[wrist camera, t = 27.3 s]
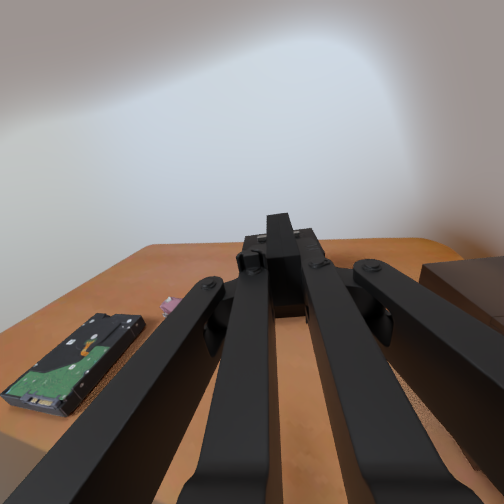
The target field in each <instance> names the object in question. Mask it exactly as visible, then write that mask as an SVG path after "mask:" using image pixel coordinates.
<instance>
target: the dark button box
mask: <svg viewBox="0 0 504 504" xmlns="http://www.w3.org/2000/svg"><path fill="white" fill-rule="evenodd" d="M293 232H294V235H295V238H296V239H303V238H312V239H314V240H316V241H317V243H318V245H319V247H320V249H321V251H322V253H323V255H324V257H325V252H324V250H323V249H322V247H321V245H320V243H319V241H318V239H317V237H316V236H315V234H314V232H313V230H312V228H307V229H299V230H293ZM266 236H267V234H259V235H251V236H245V240H244V244H243V248H242V251H245V250H248V249H249V248H250V247H251V246H252V245H259V244H266ZM273 307H274V314H275V318H285V317H299V316H306V315H305V302H304V304H297V305H285V306H273Z"/></svg>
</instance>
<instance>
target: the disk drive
mask: <svg viewBox="0 0 504 504" xmlns="http://www.w3.org/2000/svg"><path fill="white" fill-rule="evenodd" d="M145 325H146V324H145V322H144V320H143V318H142V316H141V315H124V314H115V315H113V316H109V315H106V314H103V313H96V314H95V315H94V316H93V317H91V318H90V319H89V320H88V321H86V322H85V323H84V324H83V325H82V326H81V327H79V328H78V329H77V330H76V331H75V332H73V333H72V334H71V335H70V336H69V337H67V338H66V339H65V340H64V341H63V342H61V343H60V344H59V345H58V346H57V347H56V348H54V349H53V350H52V351H51V352H50V353H48V354H47V355H46V356H45V357H43V358H42V359H41V360H40V361H38V362H37V364H36V365H34V366H33V367H31V368H30V369H29V370H28V371H27V372H25V373H24V374H23V375H21V376H20V377H19V378H18V379H17V380H16V381H15V382H14V383H13V384H11V385H10V386H9V387H7V388H6V389H5V390H4V391H3V392H2V393H1V394H0V396H1V397H2V398H3V399H4V400H5V401H7V402H8V403H9V404H10V405H12V406H17V407H20V408H24V409H29V410H34V411H39V412H43V413H48V414H53V415H57V416H62V417H67V416H68V415H69V414H70V413H71V412H72V411H73V410H74V409H75V408H76V407H77V406H78V405H79V404H80V403H81V401H82V400H83V399H84V398H85V397H86V395H87V394H88V393H89V392H90V391H91V390H92V388H93V387H94V386H95V385H96V384H97V383H98V381H99V380H100V379H101V378H102V377H103V376H104V374H105V373H106V372H107V371H108V370H109V368H110V367H111V366H112V365H113V364H114V362H115V361H116V360H117V359H118V358H119V357H120V355H122V353H123V352H124V351H125V350H126V349H127V347H128V346H129V345H130V344H131V343H132V341H133V340H134V339H135V338H136V337H137V336H138V334H139V333H140V332H141V331H142V329H143V328H144V326H145Z"/></svg>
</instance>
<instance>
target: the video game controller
mask: <svg viewBox="0 0 504 504" xmlns="http://www.w3.org/2000/svg"><path fill="white" fill-rule="evenodd" d="M181 300H182V299H179V298H175V297H168V299H167V300H165V301H164V302H163V303H162V304H161V306H160V308H161V309H162V310H163V311H164V314H165V315H164V314H163V316H164V317H167V316H168V315H169V314H170V313H171V312H172V311H173V309H174V308H175V307H176V306H177V305H178V304H179V303H180V301H181Z"/></svg>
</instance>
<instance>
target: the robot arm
mask: <svg viewBox="0 0 504 504" xmlns="http://www.w3.org/2000/svg"><path fill="white" fill-rule="evenodd" d="M236 260H237V264H238V269H239V277H238V278H236V279H234V280H232V281H229V282H225V283H223V279H222V278H220V277H216V276H213V277H206V278H204V279H202V280H200V281H199V282H198V283H196V284H195V286H194V287H193V288H192V289H191V290H190V291H189V292H188V293H187V295H186V296H185V297H184V298H183V299H182V300H181V301H180V303H179V304H178V305H177V306H176V307H175V308H174V309H173V311H172V312H171V313H170V314H169V315H168V316H167V317H166V318H165V320H164V321H163V322H162V323H161V324H160V325H159V326H158V328H157V329H156V330H155V331H154V332H153V333H152V334H151V336H150V337H149V338H148V339H147V340H146V341H145V342H144V344H143V345H142V346H141V347H140V348H139V349H138V350H137V351H136V353H135V354H134V355H133V356H132V357H131V358H130V359H129V361H128V362H127V363H126V364H125V365H124V366H123V367H122V369H121V370H120V371H119V372H118V373H117V374H116V375H115V376H114V378H113V379H112V380H111V381H110V382H109V383H108V384H107V386H106V387H105V388H104V389H103V390H102V391H101V392H100V394H99V395H98V396H97V397H96V398H95V399H94V400H93V402H92V403H91V404H90V405H89V406H88V407H87V408H86V409H85V411H84V412H83V413H82V414H81V415H80V416H79V417H78V419H77V420H76V421H75V422H74V423H73V424H72V425H71V427H70V428H69V429H68V430H67V431H66V432H65V433H64V434H63V436H62V437H61V438H60V439H59V440H58V441H57V442H56V444H55V445H54V446H53V447H52V448H51V449H50V450H49V452H48V453H47V454H46V455H45V456H44V457H43V458H42V460H41V461H40V462H39V463H38V464H37V465H36V466H35V467H34V469H33V470H32V471H31V472H30V473H29V474H28V475H27V477H26V478H25V479H24V480H23V481H22V482H21V483H20V485H19V486H18V487H17V488H16V489H15V490H14V491H13V493H12V494H11V495H10V496H9V497H8V499H6V500H5V502H4V503H3V504H152V502H153V500H154V497H155V495H156V493H157V491H158V489H159V487H160V485H161V483H162V481H163V478H164V476H165V474H166V472H167V470H168V468H169V466H170V464H171V462H172V460H173V457H174V455H175V453H176V451H177V449H178V447H179V445H180V443H181V441H182V439H183V436H184V434H185V432H186V430H187V428H188V426H189V424H190V422H191V420H192V418H193V415H194V413H195V411H196V409H197V407H198V405H199V403H200V401H201V399H202V396H203V394H204V392H205V390H206V388H207V386H208V384H209V382H210V380H211V378H212V375H213V373H214V371H215V369H216V367H217V365H218V363H219V361H220V365H219V369H218V374H217V378H216V383H215V388H214V392H213V397H212V402H211V406H210V411H209V415H208V420H207V425H206V429H205V434H204V439H203V443H202V448H201V452H200V457H199V461H198V465H197V468H196V470H195V473H194V475H193V476H192V477H191V478H190V479H189V480H188V481H187V482H186V483H185V484H184V486H183V488H182V490H181V492H180V495H179V497H178V500H177V503H176V504H283V486H282V465H281V443H280V422H279V400H278V378H277V357H276V335H275V314H274V307H273V306H285V305H297V304H304V302H305V315H306V323H308V326H309V330H310V335H311V339H312V344H313V348H314V352H315V357H316V361H317V366H318V370H319V375H320V379H321V384H322V388H323V393H324V397H325V402H326V406H327V410H328V415H329V419H330V424H331V428H332V433H333V437H334V442H335V446H336V451H337V455H338V459H339V464H340V468H341V473H342V477H343V482H344V486H345V491H346V495H347V500H348V504H484V503H483V502H482V500H481V499H480V498H479V497H478V496H477V495H476V494H475V493H474V491H473V490H471V489H470V488H468V487H467V486H465V485H464V484H462V483H461V482H459V481H458V480H456V479H455V478H454V477H453V475H452V474H451V473H450V472H449V471H448V469H447V467H446V466H445V464H444V463H443V461H442V459H441V457H440V456H439V454H438V452H437V450H436V448H435V447H434V445H433V443H432V441H431V439H430V438H429V436H428V434H427V432H426V430H425V429H424V427H423V425H422V423H421V421H420V420H419V418H418V416H417V414H416V412H415V410H414V409H413V407H412V405H411V403H410V401H409V400H408V398H407V396H406V394H405V392H404V391H403V389H402V387H401V385H400V383H399V382H398V380H397V378H396V376H395V374H394V372H393V371H392V369H391V367H390V365H389V363H390V364H391V365H392V367H393V368H394V369H395V370H396V371H397V372H398V374H399V375H400V376H401V377H402V378H403V379H404V381H405V382H406V383H407V384H408V385H409V386H410V388H411V389H412V390H413V391H414V392H415V393H416V395H417V396H418V397H419V398H420V399H421V400H422V402H423V403H424V404H425V405H426V406H427V407H428V409H429V410H430V411H431V412H432V413H433V414H434V416H435V417H436V418H437V419H438V420H439V421H440V423H441V424H442V425H443V426H444V427H445V428H446V430H447V431H448V432H449V433H450V434H451V435H452V437H453V438H454V439H455V440H456V441H457V442H458V444H459V445H460V446H461V447H462V448H463V449H464V451H465V452H466V453H467V454H468V455H469V456H470V458H471V459H472V460H473V461H474V462H475V463H476V465H477V466H478V467H479V468H480V469H481V470H482V472H483V473H484V474H485V475H486V476H487V477H488V479H489V480H490V481H491V482H492V483H493V484H494V486H495V487H496V488H497V489H498V490H499V491H500V493H501V494H502V495H503V496H504V335H502V334H500V333H499V332H497V331H496V330H494V329H492V328H491V327H489V326H487V325H486V324H484V323H483V322H481V321H479V320H478V319H476V318H474V317H473V316H471V315H470V314H468V313H466V312H465V311H463V310H461V309H460V308H458V307H457V306H455V305H453V304H452V303H450V302H448V301H447V300H445V299H444V298H442V297H440V296H439V295H437V294H435V293H434V292H432V291H431V290H429V289H427V288H426V287H424V286H422V285H421V284H419V283H418V282H416V281H414V280H413V279H411V278H409V277H408V276H406V275H405V274H403V273H401V272H400V271H398V270H396V269H395V268H393V267H392V266H390V265H388V264H387V263H385V262H382V261H379V260H375V259H364V260H359V261H357V262H355V263H354V264H353V269H346V268H338V267H335V266H334V264H333V262H332V261H331V260H329V259H327V258H325V257H324V255H323V253H322V251H321V249H320V247H319V245H318V243H317V241H316V240H314V239H312V238H303V239H296V238H295V235H294V232H293V228H292V225H291V222H290V219H289V215H288V213H281V214H274V215H268V216H267V236H266V244H259V245H252V246H251V247H250V248H249V249H248V250H245V251H242V252H240V253H239V254H238V255H237V256H236ZM386 308H387V309H388V310H389V311H387V310H386ZM220 359H221V360H220ZM387 361H388V362H389V363H388V362H387Z"/></svg>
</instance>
